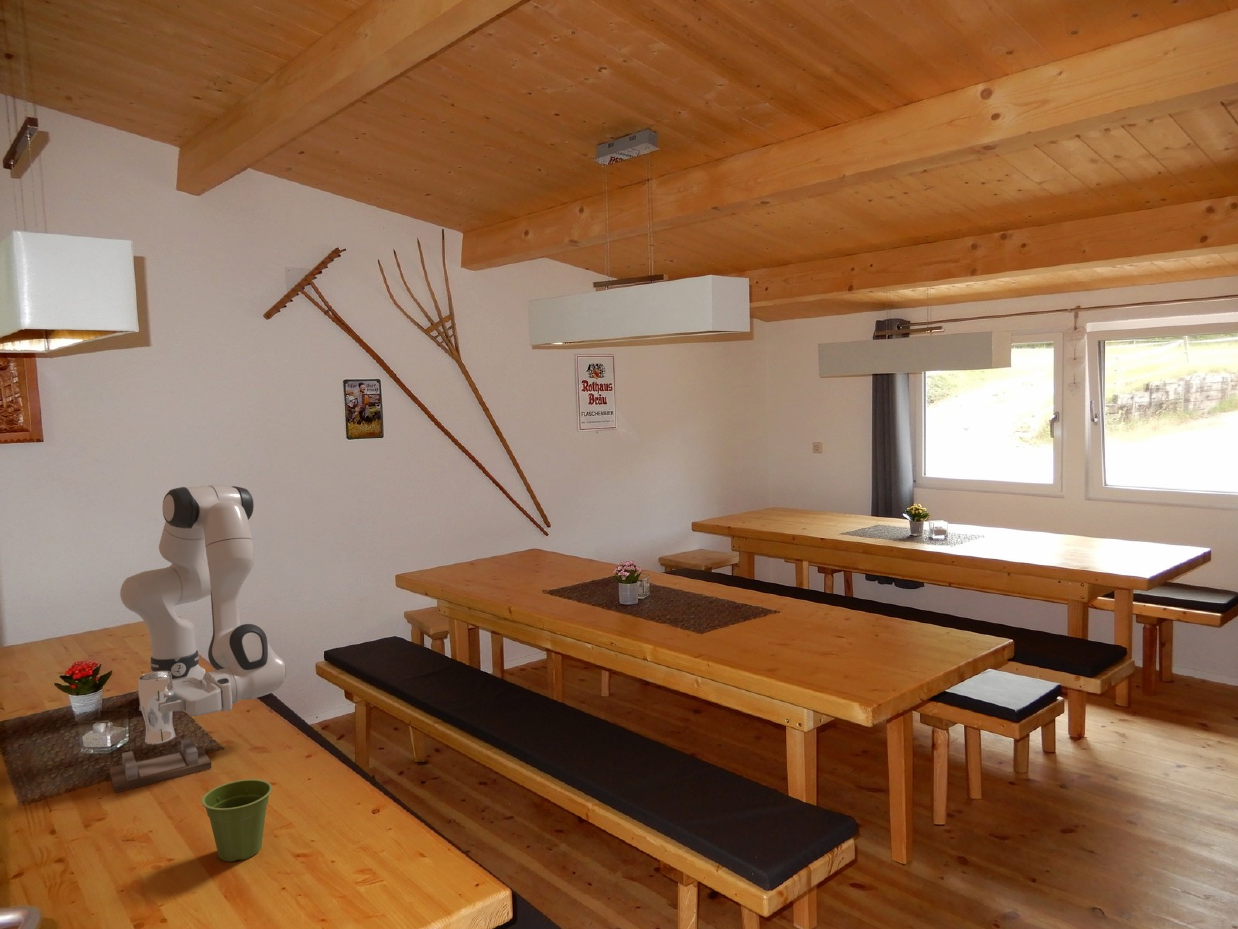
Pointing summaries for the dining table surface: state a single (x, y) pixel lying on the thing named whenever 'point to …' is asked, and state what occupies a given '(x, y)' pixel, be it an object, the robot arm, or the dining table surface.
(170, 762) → the rail board
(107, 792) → the dining table surface
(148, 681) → the beer glass
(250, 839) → the plant pot
